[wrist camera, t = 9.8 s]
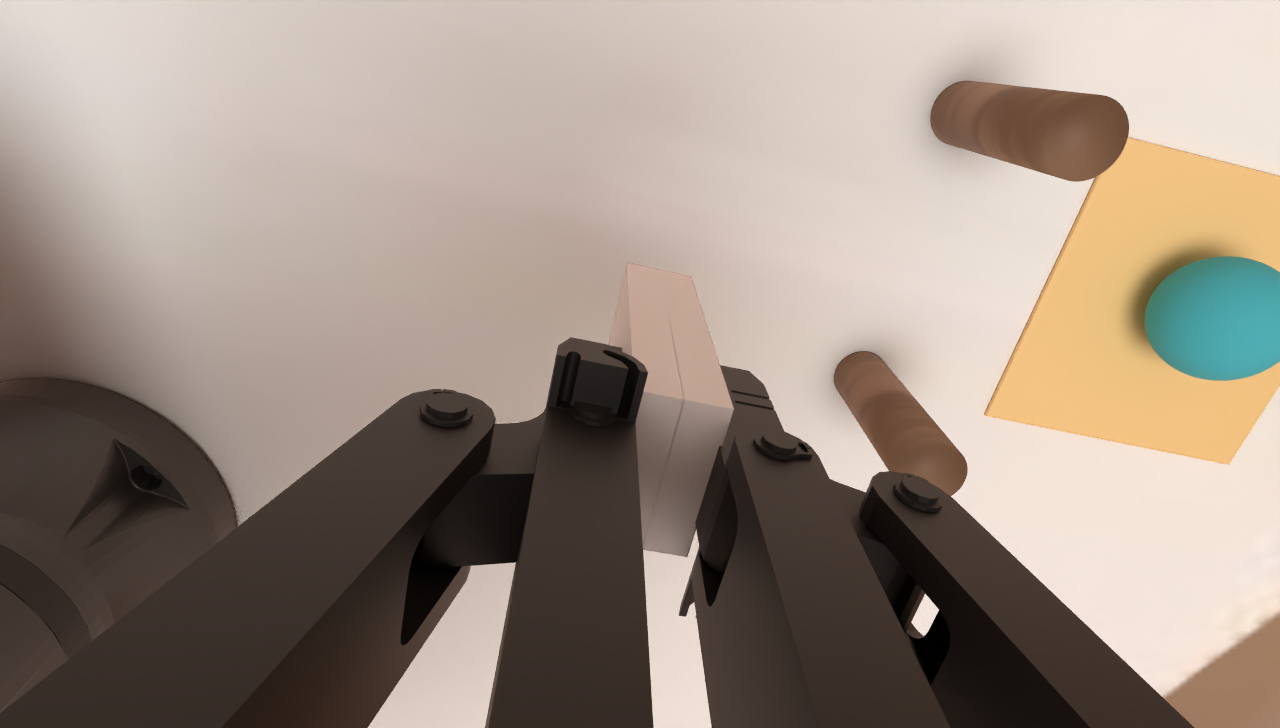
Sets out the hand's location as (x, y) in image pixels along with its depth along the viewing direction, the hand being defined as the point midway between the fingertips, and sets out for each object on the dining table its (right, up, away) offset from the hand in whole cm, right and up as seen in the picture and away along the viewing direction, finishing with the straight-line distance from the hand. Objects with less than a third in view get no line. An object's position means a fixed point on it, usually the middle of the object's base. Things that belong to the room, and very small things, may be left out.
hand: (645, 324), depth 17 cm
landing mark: (+26, +1, +18) cm, 32 cm away
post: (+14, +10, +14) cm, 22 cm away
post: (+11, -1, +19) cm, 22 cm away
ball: (+26, +1, +15) cm, 30 cm away
